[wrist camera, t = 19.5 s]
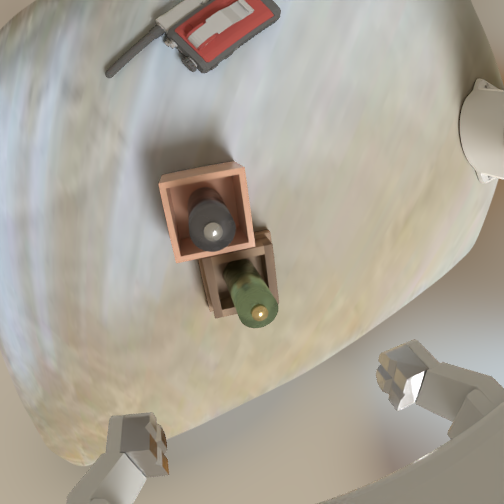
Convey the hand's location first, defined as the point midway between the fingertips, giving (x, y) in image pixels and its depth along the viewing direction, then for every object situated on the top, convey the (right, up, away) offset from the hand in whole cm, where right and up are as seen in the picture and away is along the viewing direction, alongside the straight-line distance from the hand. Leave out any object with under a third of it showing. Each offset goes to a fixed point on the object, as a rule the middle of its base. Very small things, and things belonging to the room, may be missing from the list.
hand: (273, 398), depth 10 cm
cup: (-6, +11, +26) cm, 29 cm away
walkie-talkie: (-7, +29, +19) cm, 35 cm away
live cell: (-2, +2, +29) cm, 29 cm away
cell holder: (-3, +3, +30) cm, 30 cm away
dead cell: (-6, +10, +25) cm, 28 cm away
